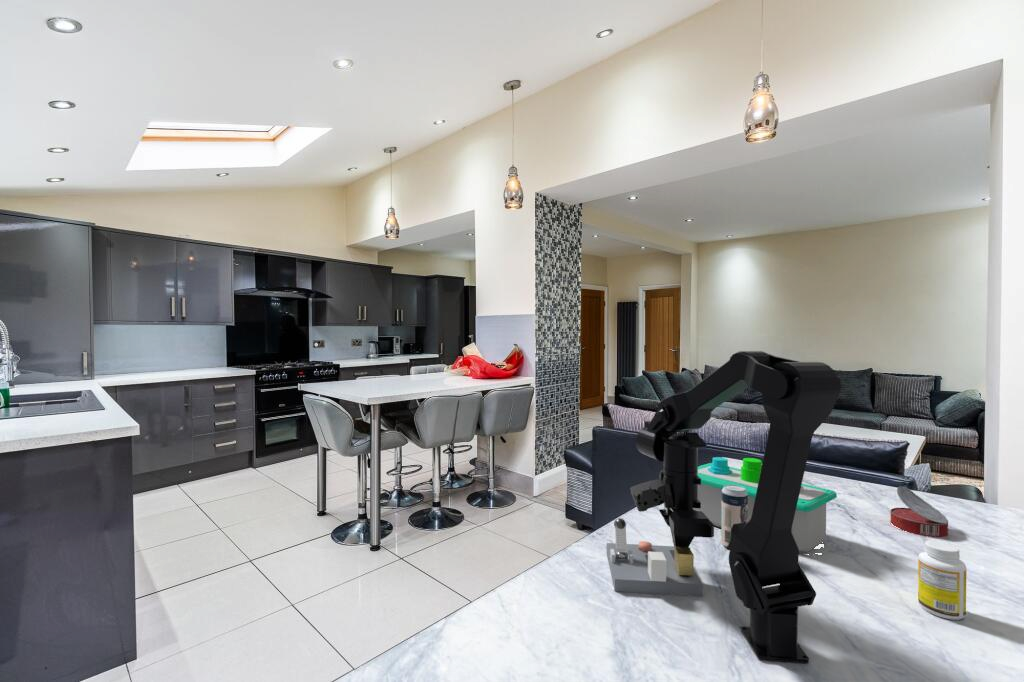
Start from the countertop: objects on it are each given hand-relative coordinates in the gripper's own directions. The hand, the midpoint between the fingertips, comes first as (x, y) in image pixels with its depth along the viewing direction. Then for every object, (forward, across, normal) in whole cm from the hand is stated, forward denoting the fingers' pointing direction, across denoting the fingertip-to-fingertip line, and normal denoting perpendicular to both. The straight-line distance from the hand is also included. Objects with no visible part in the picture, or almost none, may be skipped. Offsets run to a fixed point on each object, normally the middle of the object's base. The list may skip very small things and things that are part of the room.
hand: (679, 556), depth 84 cm
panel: (+3, 0, -5) cm, 6 cm away
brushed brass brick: (+1, +3, 0) cm, 3 cm away
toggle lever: (+1, 0, -10) cm, 10 cm away
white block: (+1, +6, -5) cm, 8 cm away
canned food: (+4, -28, +59) cm, 66 cm away
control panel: (+4, -24, +21) cm, 33 cm away
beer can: (+4, -13, +14) cm, 20 cm away
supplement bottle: (+4, +6, +38) cm, 39 cm away
